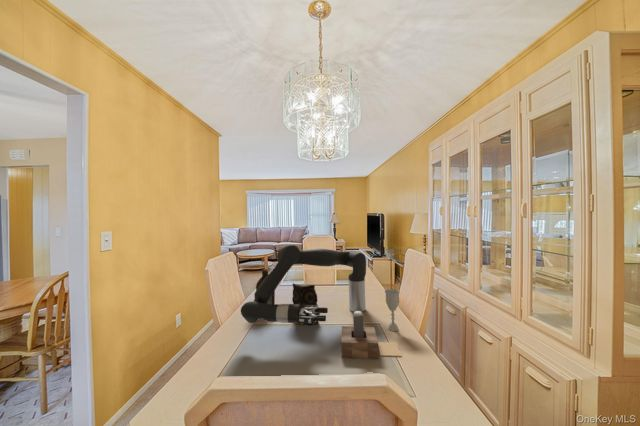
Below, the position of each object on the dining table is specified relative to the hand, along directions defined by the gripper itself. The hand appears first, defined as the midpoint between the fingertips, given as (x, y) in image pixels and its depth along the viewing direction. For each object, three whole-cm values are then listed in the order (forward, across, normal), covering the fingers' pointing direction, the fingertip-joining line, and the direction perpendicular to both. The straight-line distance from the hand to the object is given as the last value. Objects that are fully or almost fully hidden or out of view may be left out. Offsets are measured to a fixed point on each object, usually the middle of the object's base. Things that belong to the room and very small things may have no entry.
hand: (326, 314), depth 108 cm
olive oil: (-38, +36, +14) cm, 54 cm away
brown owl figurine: (-12, +27, +14) cm, 33 cm away
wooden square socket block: (+13, 0, +14) cm, 19 cm away
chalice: (+30, +19, +14) cm, 38 cm away
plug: (+13, 0, +14) cm, 19 cm away
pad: (+25, 0, +14) cm, 29 cm away
